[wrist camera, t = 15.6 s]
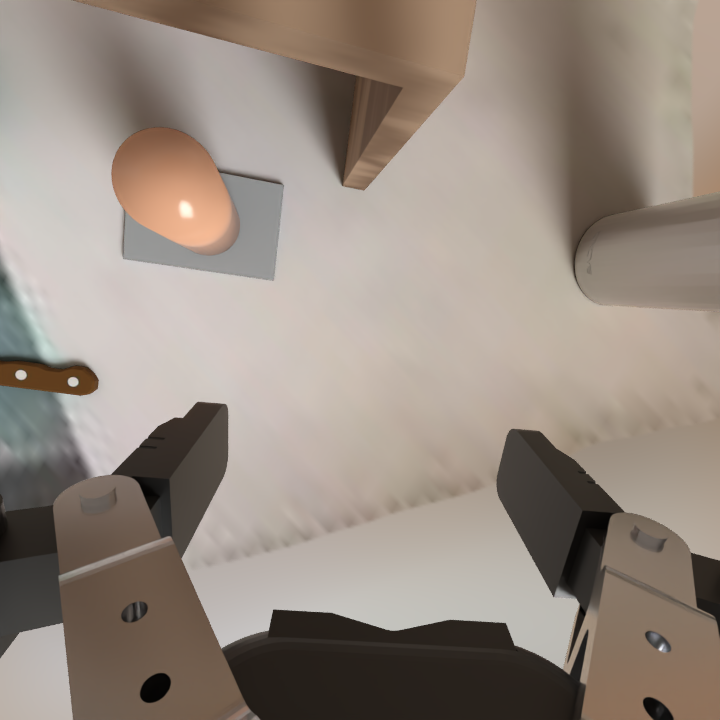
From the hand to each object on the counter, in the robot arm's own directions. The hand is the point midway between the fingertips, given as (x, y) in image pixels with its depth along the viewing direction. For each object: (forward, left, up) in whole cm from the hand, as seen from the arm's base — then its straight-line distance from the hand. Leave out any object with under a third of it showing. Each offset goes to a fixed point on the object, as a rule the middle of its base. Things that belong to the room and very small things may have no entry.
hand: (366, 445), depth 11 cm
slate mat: (+9, -9, -26) cm, 29 cm away
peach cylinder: (+9, -8, -26) cm, 29 cm away
